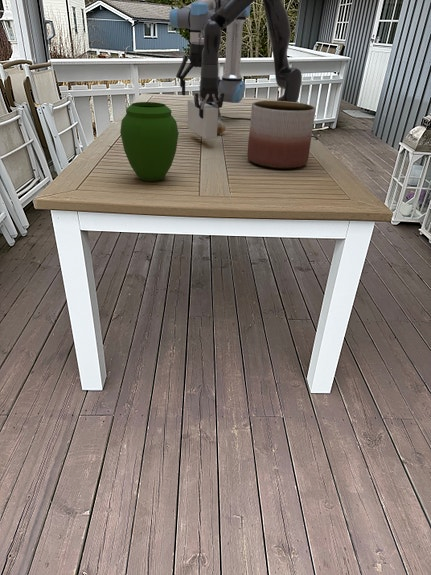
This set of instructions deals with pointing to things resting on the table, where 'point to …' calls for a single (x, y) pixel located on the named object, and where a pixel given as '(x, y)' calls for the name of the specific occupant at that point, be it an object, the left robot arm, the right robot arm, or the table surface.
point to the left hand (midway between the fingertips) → (197, 95)
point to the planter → (280, 134)
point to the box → (203, 120)
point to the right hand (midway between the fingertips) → (208, 117)
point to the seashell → (220, 126)
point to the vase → (149, 139)
